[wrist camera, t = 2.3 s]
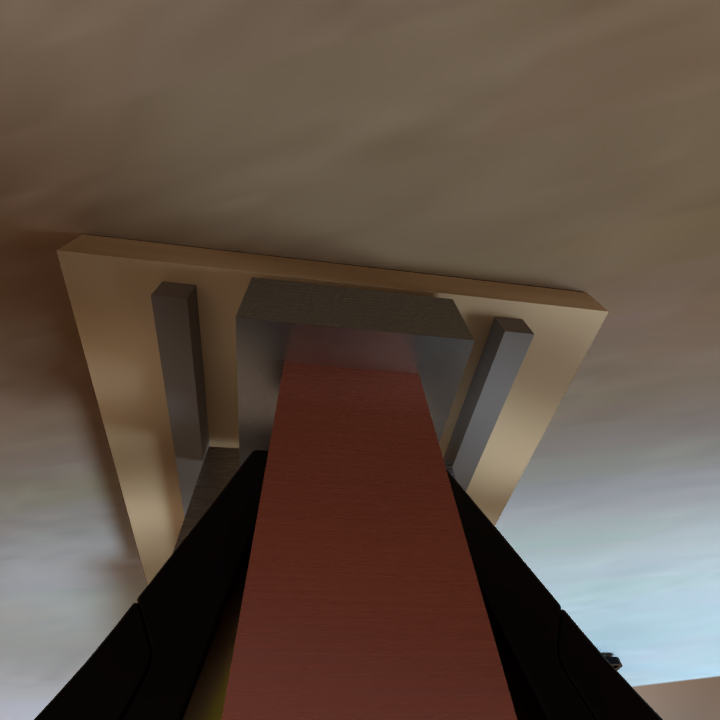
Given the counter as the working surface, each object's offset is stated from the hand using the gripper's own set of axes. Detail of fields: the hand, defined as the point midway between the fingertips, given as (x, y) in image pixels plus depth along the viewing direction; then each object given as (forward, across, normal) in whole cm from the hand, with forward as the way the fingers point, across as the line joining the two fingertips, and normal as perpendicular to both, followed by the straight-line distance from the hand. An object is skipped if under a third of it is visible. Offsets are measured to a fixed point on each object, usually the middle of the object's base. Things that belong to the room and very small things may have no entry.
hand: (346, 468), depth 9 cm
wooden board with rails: (+5, 0, +5) cm, 7 cm away
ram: (+4, 0, +1) cm, 4 cm away
